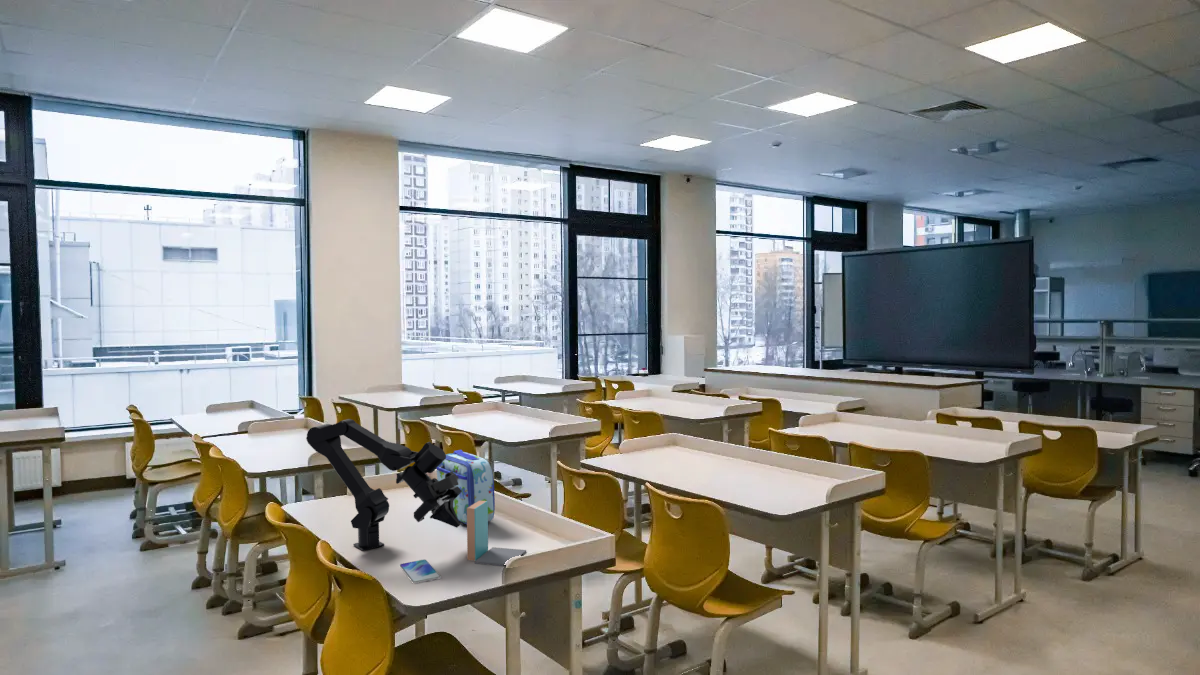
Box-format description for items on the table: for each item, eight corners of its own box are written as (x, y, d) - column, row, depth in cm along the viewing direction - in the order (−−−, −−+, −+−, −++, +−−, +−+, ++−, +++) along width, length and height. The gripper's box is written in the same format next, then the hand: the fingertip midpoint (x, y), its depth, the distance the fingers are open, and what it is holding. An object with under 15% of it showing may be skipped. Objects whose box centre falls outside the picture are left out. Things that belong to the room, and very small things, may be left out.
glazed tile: (467, 560, 197) (466, 508, 197) (479, 550, 205) (479, 500, 204) (476, 560, 197) (475, 508, 196) (488, 551, 204) (487, 501, 204)
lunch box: (433, 511, 245) (432, 449, 244) (463, 506, 251) (462, 445, 250) (466, 531, 223) (465, 462, 222) (498, 524, 229) (497, 458, 228)
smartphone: (413, 582, 180) (398, 564, 193) (413, 586, 180) (398, 567, 193) (442, 576, 184) (425, 558, 197) (442, 579, 184) (426, 562, 197)
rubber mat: (474, 563, 195) (474, 561, 195) (492, 548, 206) (492, 547, 206) (510, 566, 192) (510, 564, 192) (526, 551, 204) (526, 549, 204)
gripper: (423, 471, 194) (462, 516, 191) (455, 457, 212) (491, 498, 209) (396, 499, 196) (435, 544, 193) (430, 483, 214) (466, 523, 212)
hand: (458, 526), depth 202 cm, fingers closed
